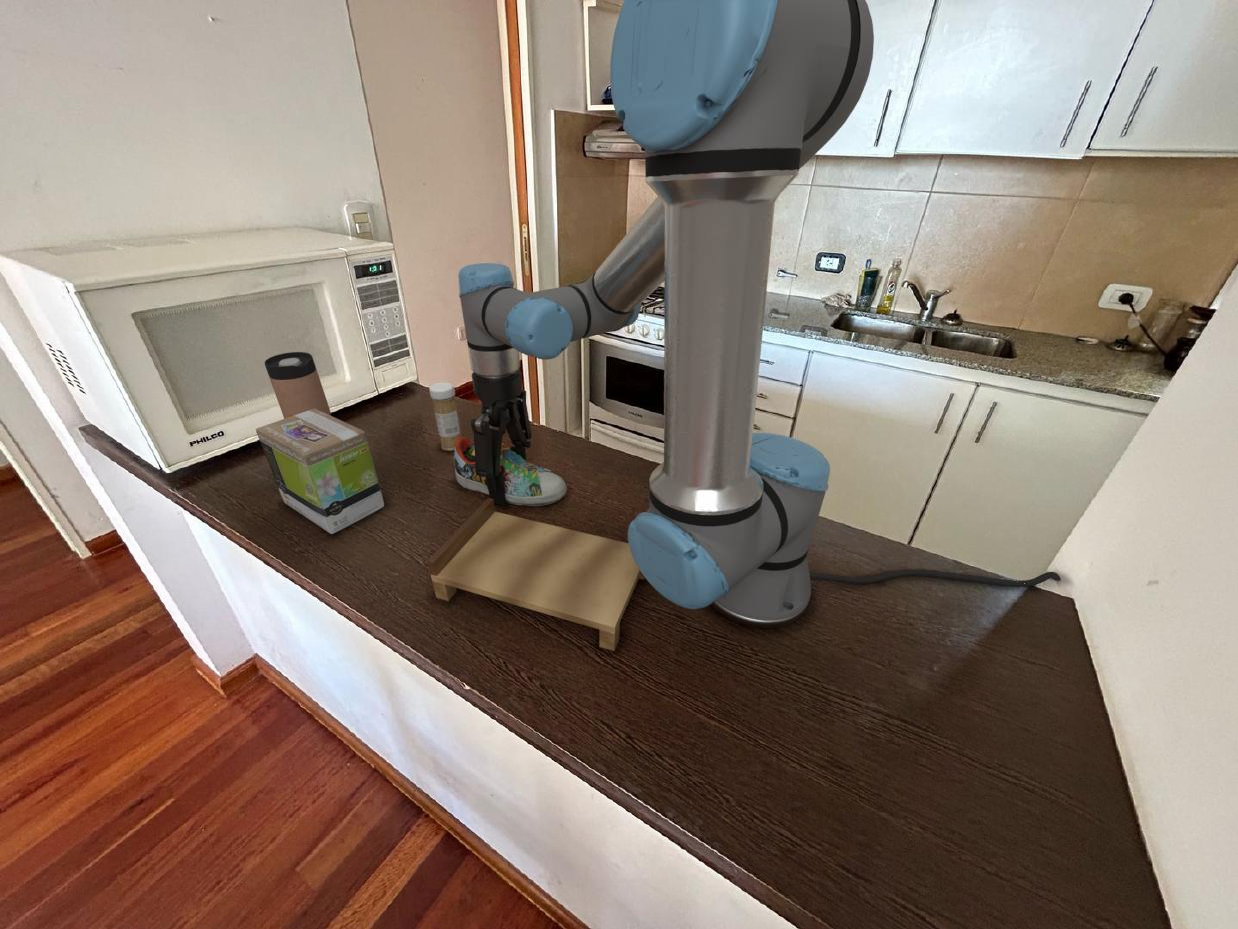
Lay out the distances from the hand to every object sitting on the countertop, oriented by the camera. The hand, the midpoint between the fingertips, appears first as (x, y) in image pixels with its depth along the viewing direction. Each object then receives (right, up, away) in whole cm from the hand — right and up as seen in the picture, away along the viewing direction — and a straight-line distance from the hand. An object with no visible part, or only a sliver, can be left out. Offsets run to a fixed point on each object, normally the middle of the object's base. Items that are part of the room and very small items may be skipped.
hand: (509, 490), depth 92 cm
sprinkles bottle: (-15, +8, +13) cm, 21 cm away
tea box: (-29, -2, -4) cm, 29 cm away
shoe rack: (+9, -12, -19) cm, 24 cm away
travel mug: (-39, +6, +10) cm, 41 cm away
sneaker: (0, 0, +1) cm, 1 cm away
